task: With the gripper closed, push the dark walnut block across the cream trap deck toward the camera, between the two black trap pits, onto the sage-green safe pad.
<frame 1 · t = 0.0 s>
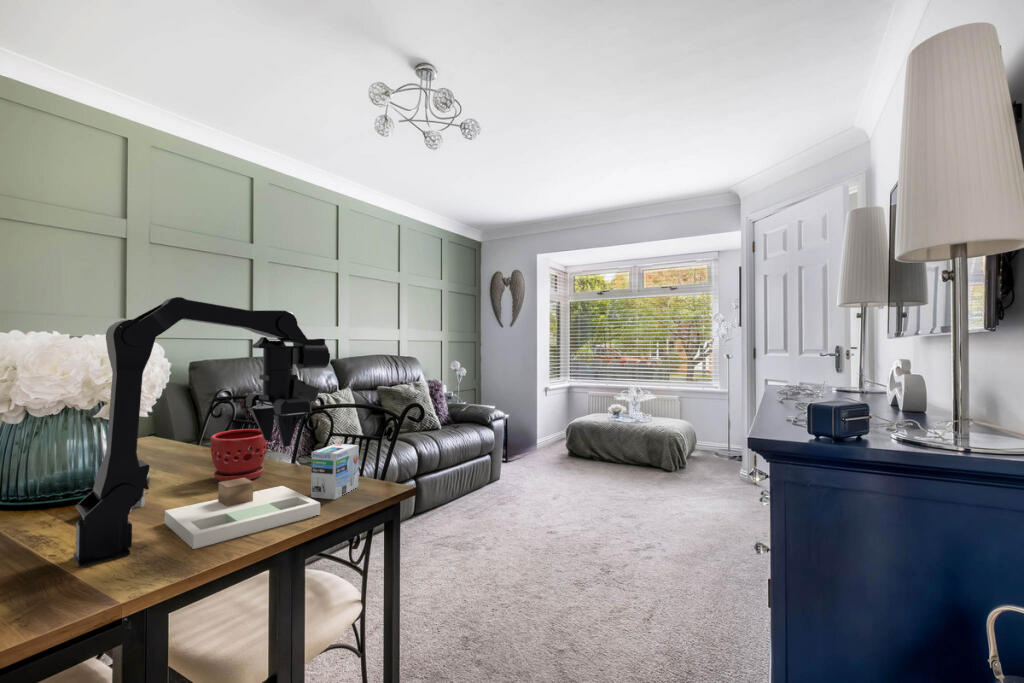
hand: (277, 443, 102), 15 cm above the table, fingers open, 9 cm apart
walnut block: (235, 501, 101), point 2 cm above the table, touching trap deck
plant pot: (239, 478, 127), on the table
egg carton: (115, 513, 102), on the table
trap deck: (244, 518, 98), on the table
light bulb box: (335, 493, 116), on the table
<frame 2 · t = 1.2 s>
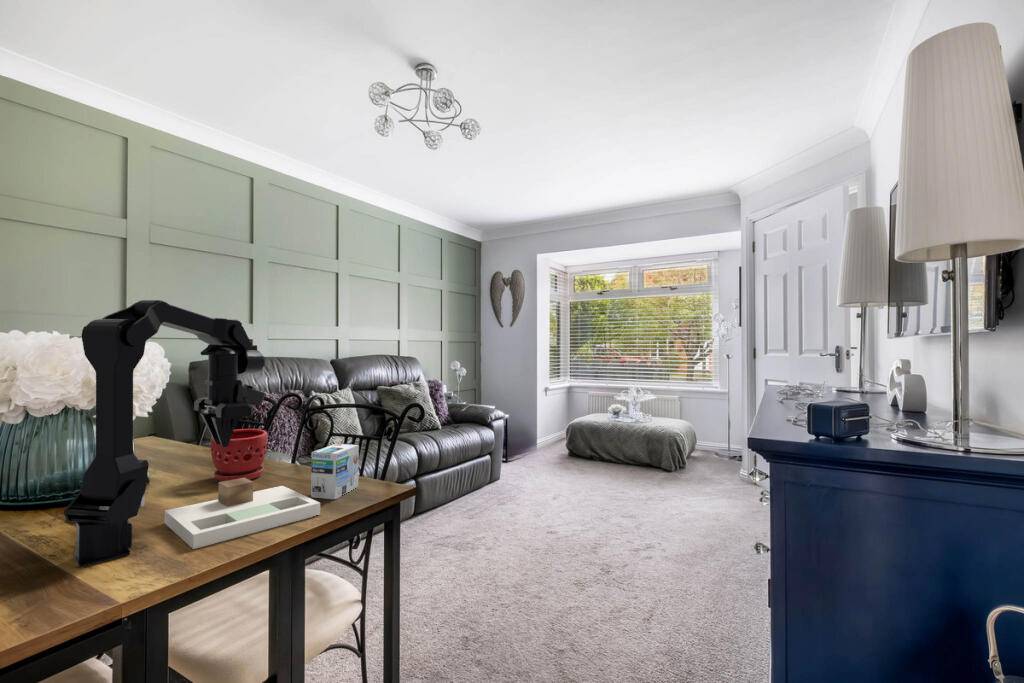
hand: (222, 445, 107), 13 cm above the table, fingers open, 4 cm apart
nothing on the table moved.
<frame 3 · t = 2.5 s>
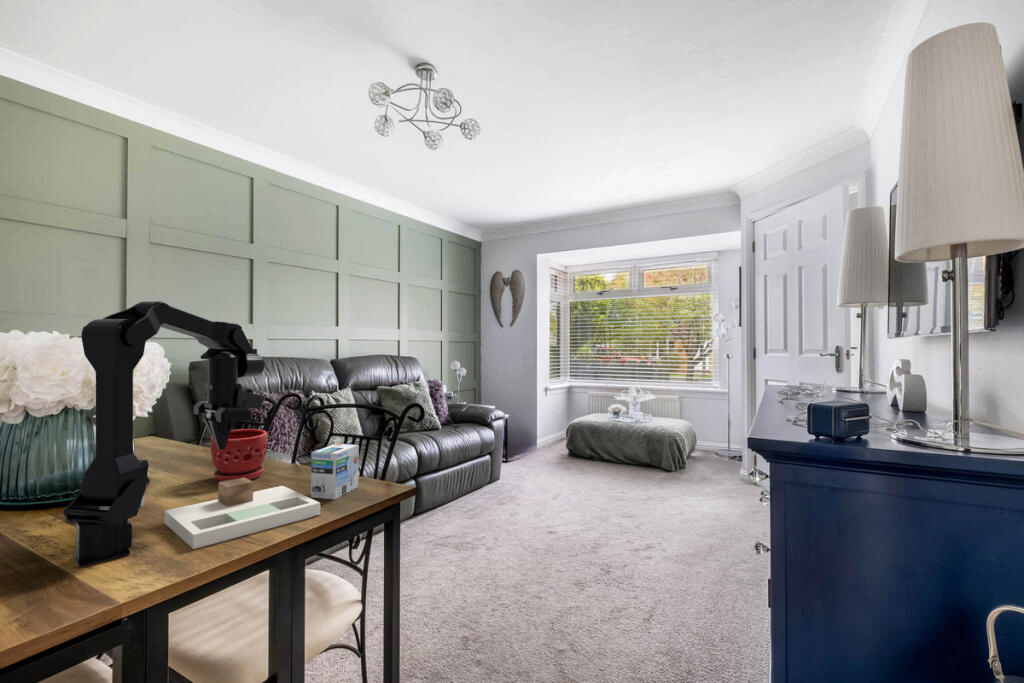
hand: (221, 449, 107), 12 cm above the table, fingers closed
nothing on the table moved.
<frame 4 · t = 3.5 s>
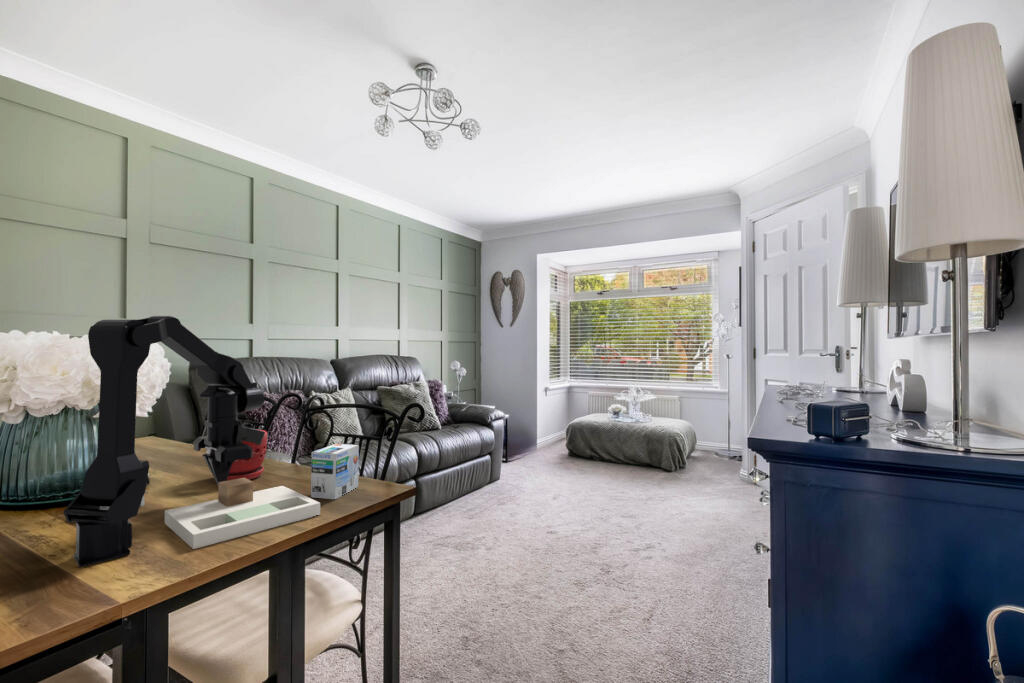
hand: (221, 486, 107), 4 cm above the table, fingers closed
nothing on the table moved.
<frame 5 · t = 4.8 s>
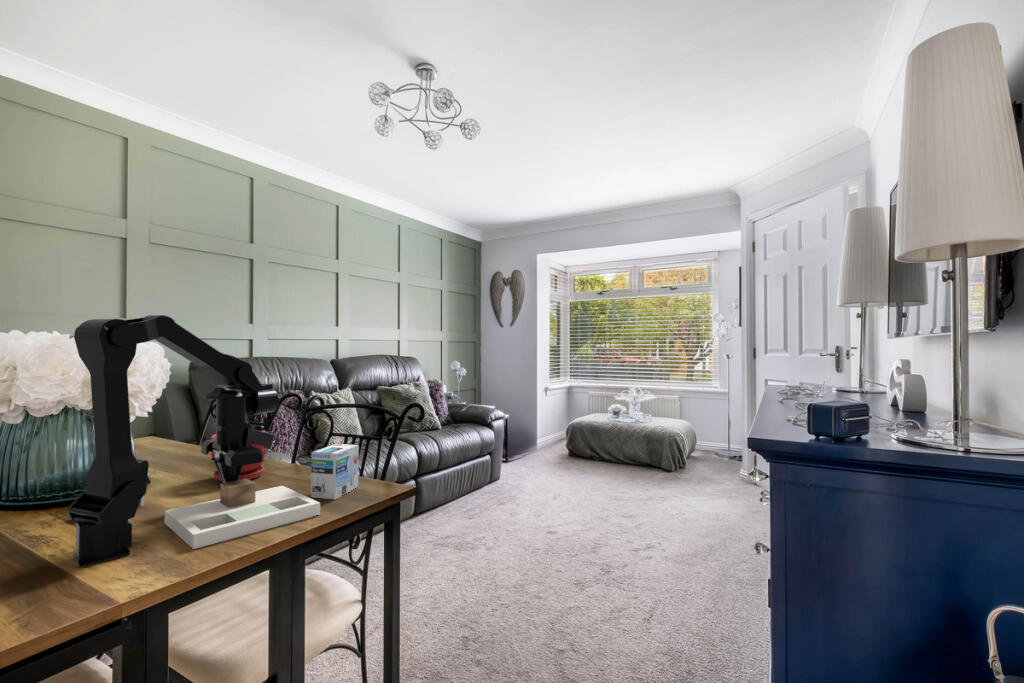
hand: (230, 491, 103), 4 cm above the table, fingers closed
walnut block: (237, 502, 100), point 3 cm above the table
everything else where it was.
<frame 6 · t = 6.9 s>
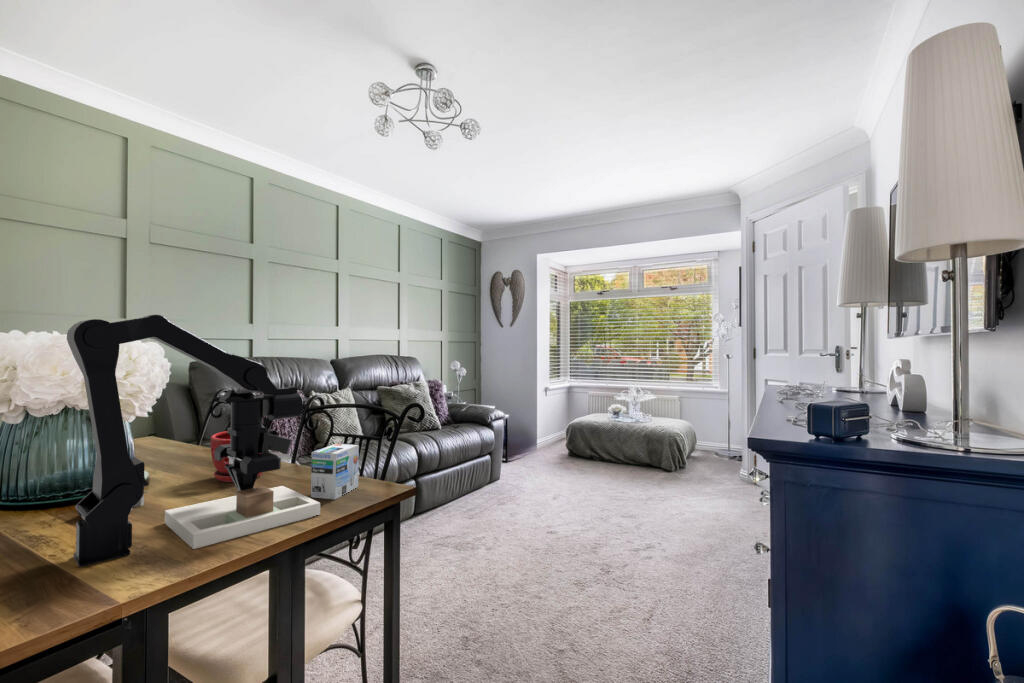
hand: (245, 499, 98), 4 cm above the table, fingers closed
walnut block: (254, 511, 95), point 2 cm above the table, touching gripper, trap deck
everything else where it was.
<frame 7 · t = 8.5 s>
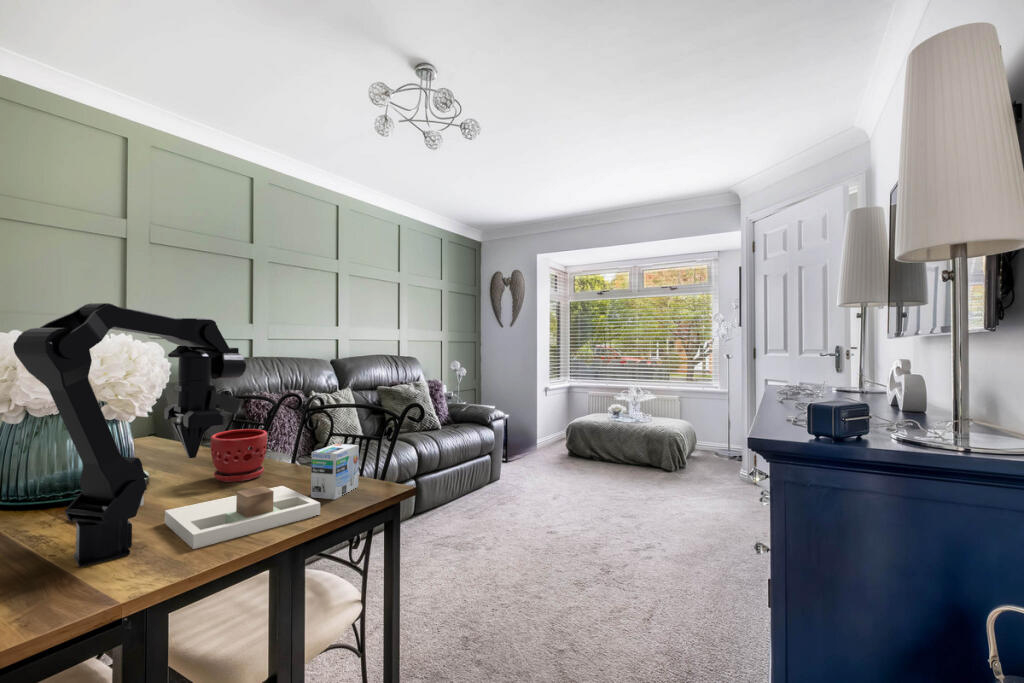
hand: (192, 457, 97), 13 cm above the table, fingers closed
walnut block: (254, 511, 95), point 2 cm above the table, touching trap deck
everything else where it was.
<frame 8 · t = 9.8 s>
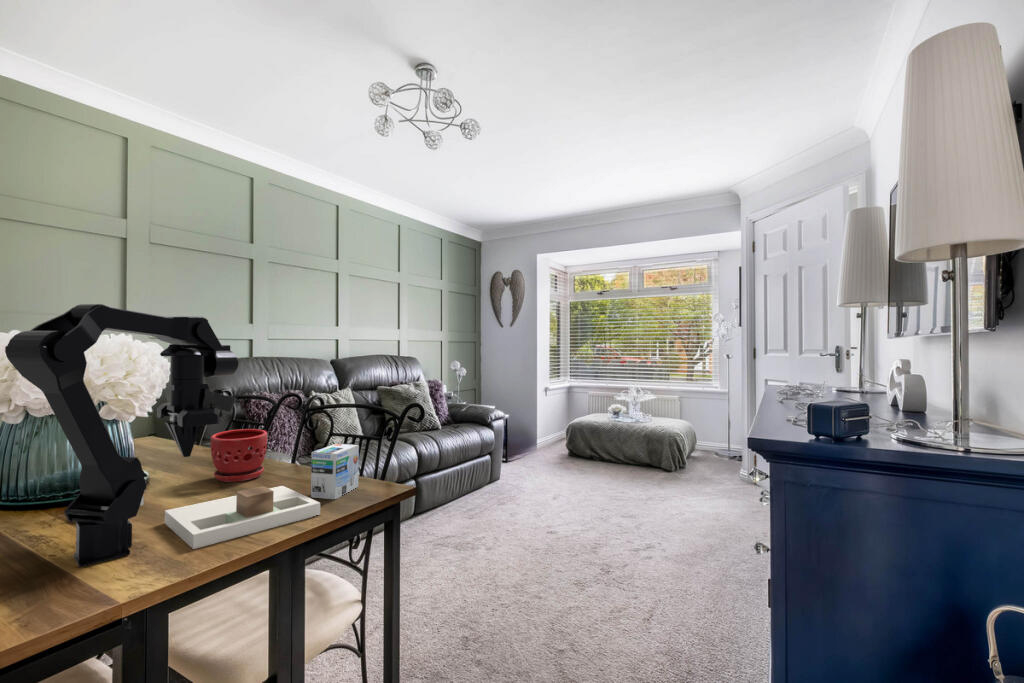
hand: (186, 456, 96), 13 cm above the table, fingers closed
nothing on the table moved.
at the end: walnut block 0.3 cm from the target spot on the trap deck, point 2.5 cm above the trap deck's base; walnut block tilted 0° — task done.
